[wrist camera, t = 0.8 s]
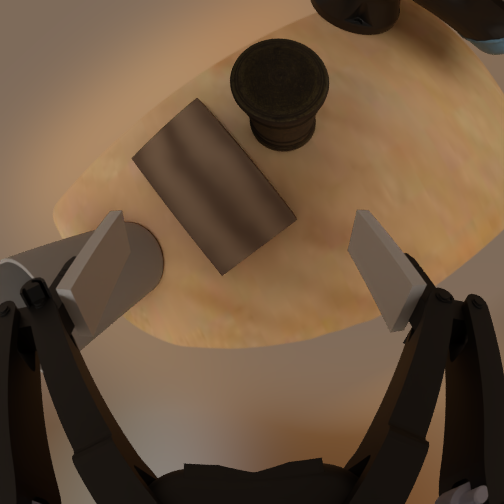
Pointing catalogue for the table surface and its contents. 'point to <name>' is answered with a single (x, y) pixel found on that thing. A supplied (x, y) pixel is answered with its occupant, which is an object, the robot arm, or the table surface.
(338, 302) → the table surface
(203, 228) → the shelf board
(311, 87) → the container
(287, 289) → the table surface
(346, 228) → the table surface
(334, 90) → the table surface
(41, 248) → the cylinder vase
